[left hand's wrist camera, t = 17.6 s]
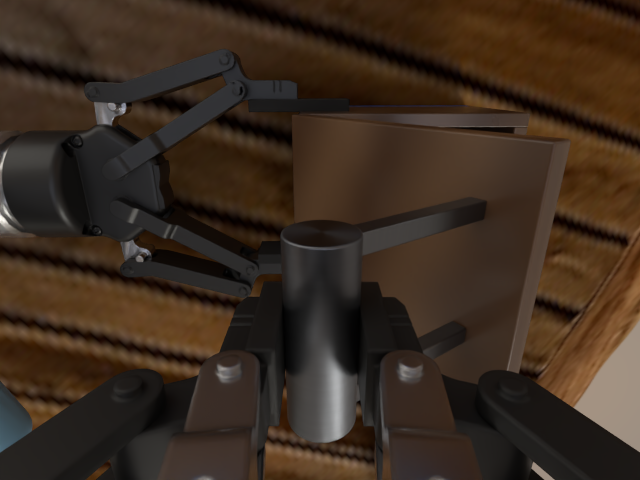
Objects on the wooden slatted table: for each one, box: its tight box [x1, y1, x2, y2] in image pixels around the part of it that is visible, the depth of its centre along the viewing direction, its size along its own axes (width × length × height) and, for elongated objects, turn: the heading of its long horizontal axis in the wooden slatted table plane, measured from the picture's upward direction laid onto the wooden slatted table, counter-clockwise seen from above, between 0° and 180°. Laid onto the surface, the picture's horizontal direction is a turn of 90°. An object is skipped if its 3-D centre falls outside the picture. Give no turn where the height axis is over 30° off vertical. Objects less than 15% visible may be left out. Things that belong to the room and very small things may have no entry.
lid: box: [280, 114, 571, 443], centre depth 17 cm, size 15×10×9 cm
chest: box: [299, 105, 530, 135], centre depth 30 cm, size 14×10×11 cm
